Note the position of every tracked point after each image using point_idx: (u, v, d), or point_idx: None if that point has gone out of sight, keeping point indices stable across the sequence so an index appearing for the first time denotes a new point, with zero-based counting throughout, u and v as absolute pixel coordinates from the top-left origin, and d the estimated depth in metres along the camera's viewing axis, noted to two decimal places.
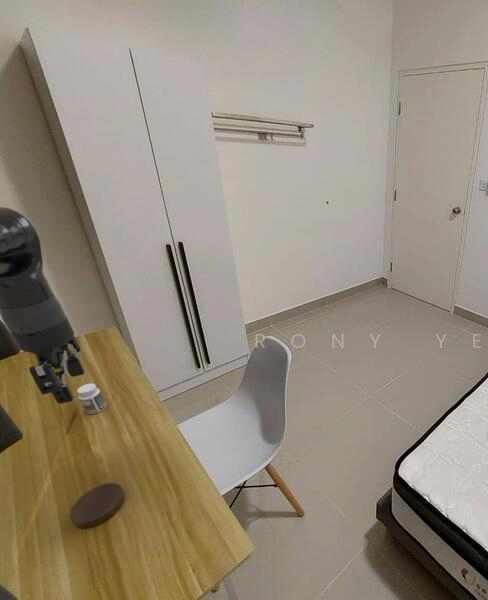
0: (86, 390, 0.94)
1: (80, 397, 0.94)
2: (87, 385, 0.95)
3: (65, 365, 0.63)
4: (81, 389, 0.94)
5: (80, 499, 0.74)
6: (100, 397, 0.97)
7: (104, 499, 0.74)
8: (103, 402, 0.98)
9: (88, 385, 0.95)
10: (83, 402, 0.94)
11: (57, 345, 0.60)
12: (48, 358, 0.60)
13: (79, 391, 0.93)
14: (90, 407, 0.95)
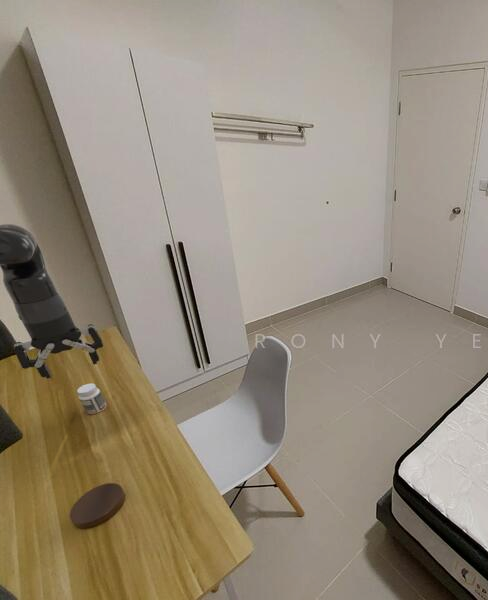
0: (86, 390, 0.94)
1: (80, 397, 0.94)
2: (87, 385, 0.95)
3: (45, 353, 0.76)
4: (81, 389, 0.94)
5: (80, 499, 0.74)
6: (100, 397, 0.97)
7: (104, 499, 0.74)
8: (103, 402, 0.98)
9: (88, 385, 0.95)
10: (83, 402, 0.94)
11: (33, 337, 0.73)
12: (31, 342, 0.74)
13: (79, 391, 0.93)
14: (90, 407, 0.95)
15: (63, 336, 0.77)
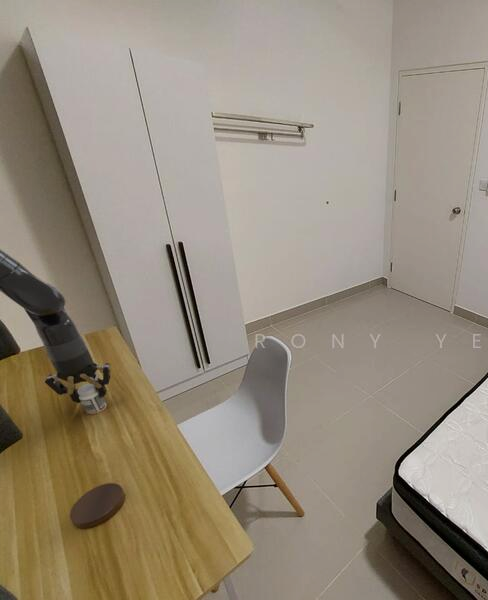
0: (86, 390, 0.94)
1: (80, 397, 0.94)
2: (87, 385, 0.95)
3: (70, 384, 0.91)
4: (81, 389, 0.94)
5: (80, 499, 0.74)
6: (100, 397, 0.97)
7: (104, 499, 0.74)
8: (103, 402, 0.98)
9: (88, 385, 0.95)
10: (83, 402, 0.94)
11: (57, 371, 0.88)
12: (56, 375, 0.89)
13: (79, 391, 0.93)
14: (90, 407, 0.95)
15: (81, 370, 0.91)
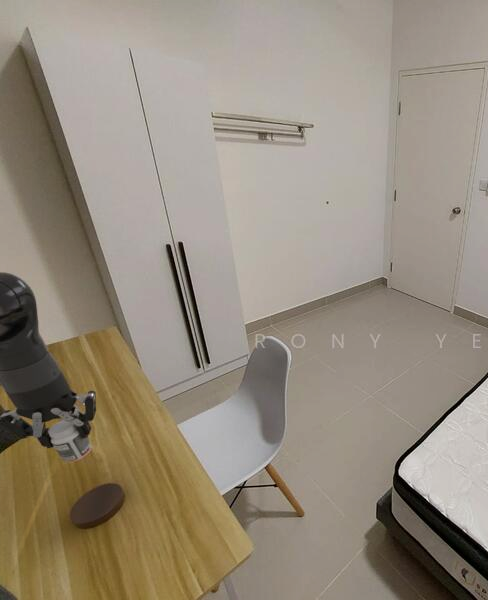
0: (61, 430, 0.66)
1: (53, 440, 0.66)
2: (63, 422, 0.68)
3: (36, 423, 0.63)
4: (53, 428, 0.66)
5: (80, 499, 0.74)
6: None
7: (104, 499, 0.74)
8: (86, 444, 0.70)
9: (64, 422, 0.68)
10: (57, 447, 0.66)
11: None
12: (16, 411, 0.61)
13: (51, 432, 0.65)
14: (67, 454, 0.68)
15: (53, 403, 0.63)
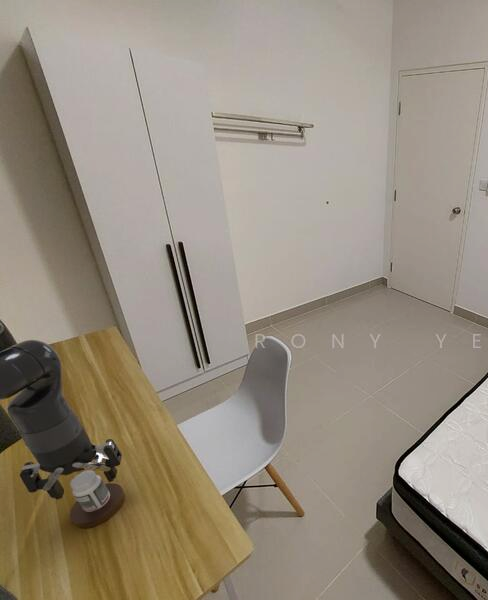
0: (83, 483, 0.69)
1: (74, 492, 0.69)
2: (84, 474, 0.70)
3: (54, 477, 0.65)
4: (75, 481, 0.69)
5: None
6: (102, 488, 0.72)
7: None
8: (106, 493, 0.73)
9: (85, 474, 0.70)
10: (78, 499, 0.69)
11: (40, 464, 0.62)
12: (40, 466, 0.64)
13: (73, 485, 0.68)
14: (88, 504, 0.70)
15: (75, 458, 0.66)
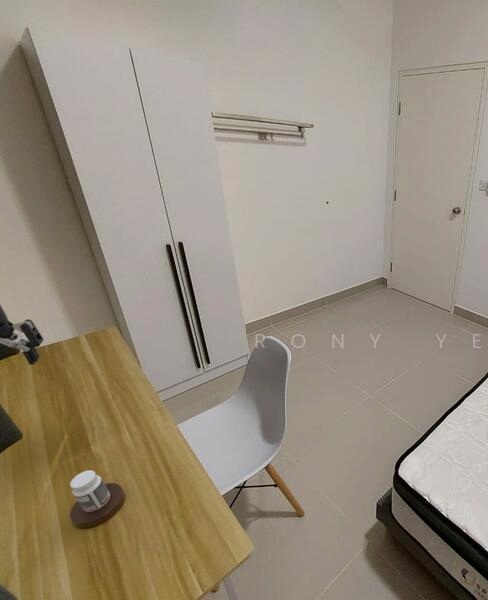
0: (83, 483, 0.69)
1: (74, 492, 0.69)
2: (84, 474, 0.70)
3: None
4: (75, 481, 0.69)
5: None
6: (102, 488, 0.72)
7: None
8: (106, 493, 0.73)
9: (85, 474, 0.70)
10: (78, 499, 0.69)
11: None
12: None
13: (73, 485, 0.68)
14: (88, 504, 0.70)
15: None
